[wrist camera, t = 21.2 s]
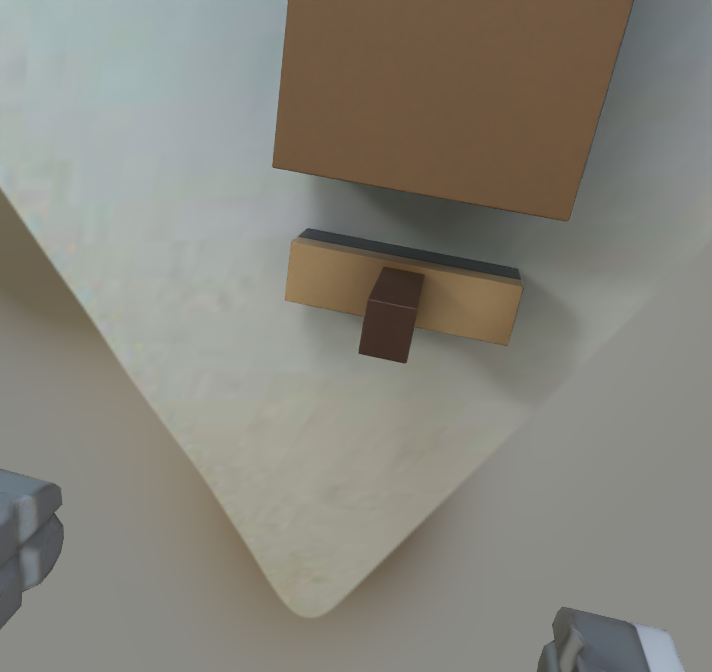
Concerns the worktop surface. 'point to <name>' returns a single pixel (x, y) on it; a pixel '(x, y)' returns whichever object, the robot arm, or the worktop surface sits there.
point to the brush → (402, 291)
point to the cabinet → (449, 96)
